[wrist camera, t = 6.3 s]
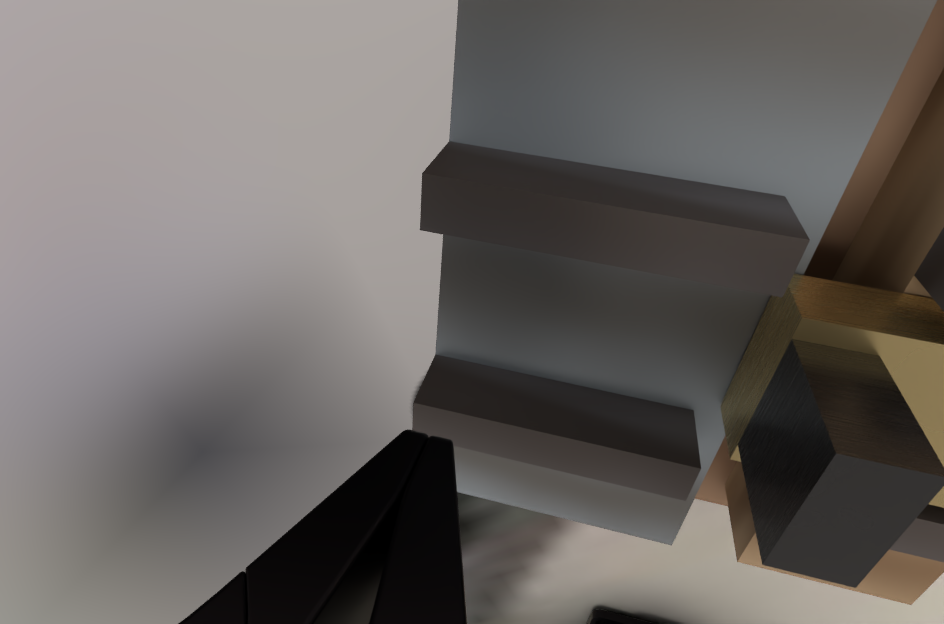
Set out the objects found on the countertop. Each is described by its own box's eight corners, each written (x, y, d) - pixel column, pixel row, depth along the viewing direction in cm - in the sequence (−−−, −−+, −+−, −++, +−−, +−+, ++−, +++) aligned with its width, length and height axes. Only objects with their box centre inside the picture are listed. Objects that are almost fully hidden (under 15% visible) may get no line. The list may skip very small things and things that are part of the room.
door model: (878, 509, 21) (959, 702, 16) (457, 413, 23) (407, 554, 18) (1342, -79, 11) (2007, -82, 6) (515, -153, 13) (436, -206, 8)
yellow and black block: (977, 461, 14) (1113, 671, 10) (720, 406, 15) (751, 579, 11) (1095, 327, 12) (1331, 532, 8) (782, 271, 12) (852, 430, 8)
